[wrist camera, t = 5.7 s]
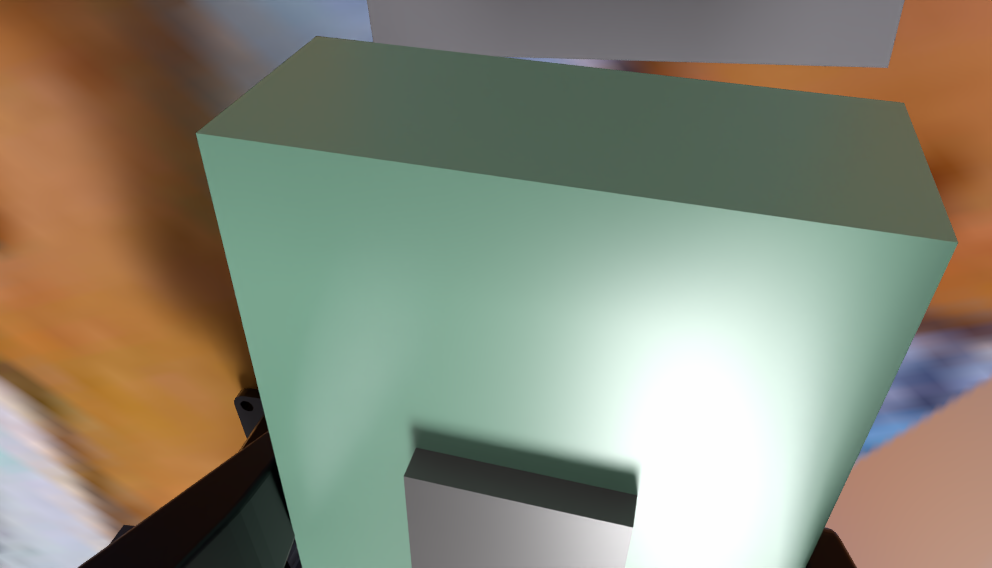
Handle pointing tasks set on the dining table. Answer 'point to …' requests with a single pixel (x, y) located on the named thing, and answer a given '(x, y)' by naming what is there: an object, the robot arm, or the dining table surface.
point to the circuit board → (566, 304)
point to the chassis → (649, 29)
